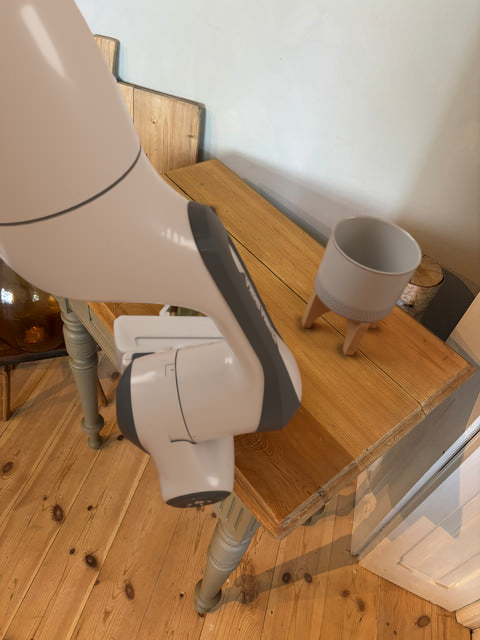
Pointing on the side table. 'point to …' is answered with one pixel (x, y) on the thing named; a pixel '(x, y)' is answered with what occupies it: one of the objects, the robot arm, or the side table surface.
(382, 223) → the planter
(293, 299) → the side table surface
